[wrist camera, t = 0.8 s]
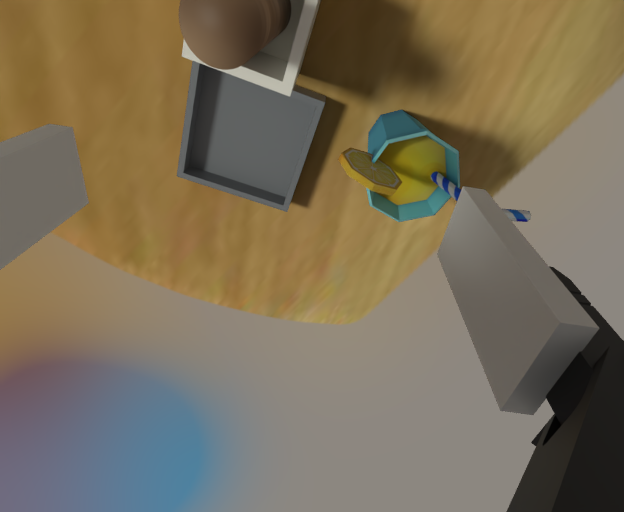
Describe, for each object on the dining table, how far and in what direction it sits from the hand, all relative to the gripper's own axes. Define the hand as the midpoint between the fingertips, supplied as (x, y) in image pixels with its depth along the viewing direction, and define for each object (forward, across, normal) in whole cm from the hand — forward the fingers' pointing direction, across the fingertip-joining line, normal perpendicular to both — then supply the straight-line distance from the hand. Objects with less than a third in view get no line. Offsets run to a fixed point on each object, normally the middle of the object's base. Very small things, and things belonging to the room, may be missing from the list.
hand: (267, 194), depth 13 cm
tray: (+27, -6, -6) cm, 28 cm away
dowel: (+25, -4, +5) cm, 26 cm away
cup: (+27, +10, -4) cm, 29 cm away
